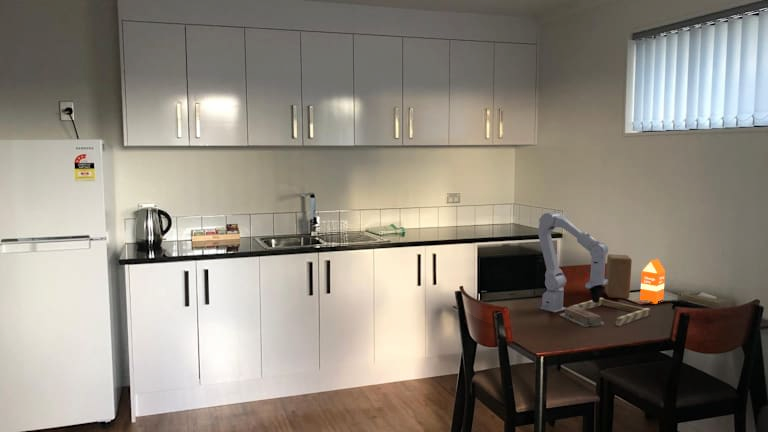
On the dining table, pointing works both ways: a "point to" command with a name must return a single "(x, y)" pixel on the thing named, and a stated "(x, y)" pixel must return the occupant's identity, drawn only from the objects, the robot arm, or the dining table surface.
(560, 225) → the robot arm
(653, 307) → the dining table surface
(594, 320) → the packaged product
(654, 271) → the orange juice
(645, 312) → the beige wooden frame
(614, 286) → the wooden block
